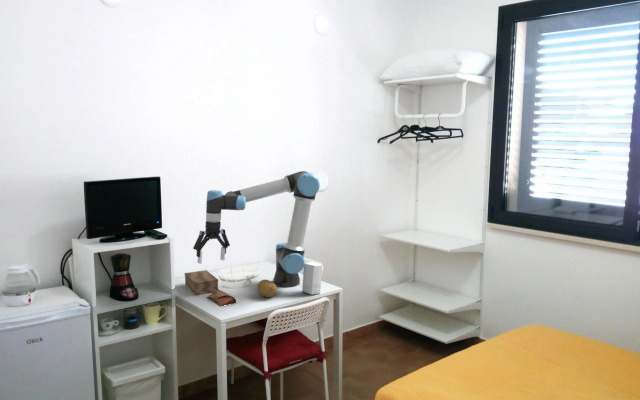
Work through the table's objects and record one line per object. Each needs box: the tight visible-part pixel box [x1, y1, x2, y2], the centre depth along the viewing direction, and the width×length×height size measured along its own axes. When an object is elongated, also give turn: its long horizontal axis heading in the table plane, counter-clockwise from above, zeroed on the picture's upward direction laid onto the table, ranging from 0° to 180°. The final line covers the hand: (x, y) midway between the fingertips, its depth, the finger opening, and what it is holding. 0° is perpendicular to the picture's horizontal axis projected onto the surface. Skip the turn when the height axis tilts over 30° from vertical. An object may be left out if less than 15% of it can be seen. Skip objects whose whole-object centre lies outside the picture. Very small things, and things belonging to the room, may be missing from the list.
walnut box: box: [184, 269, 219, 297], centre depth 272 cm, size 12×20×7 cm, turn 31°
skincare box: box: [301, 261, 323, 295], centre depth 266 cm, size 8×7×16 cm
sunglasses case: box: [206, 288, 237, 307], centre depth 255 cm, size 18×7×7 cm, turn 40°
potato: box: [257, 279, 278, 298], centre depth 261 cm, size 10×14×8 cm
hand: (211, 261), depth 256 cm, fingers open, 13 cm apart
